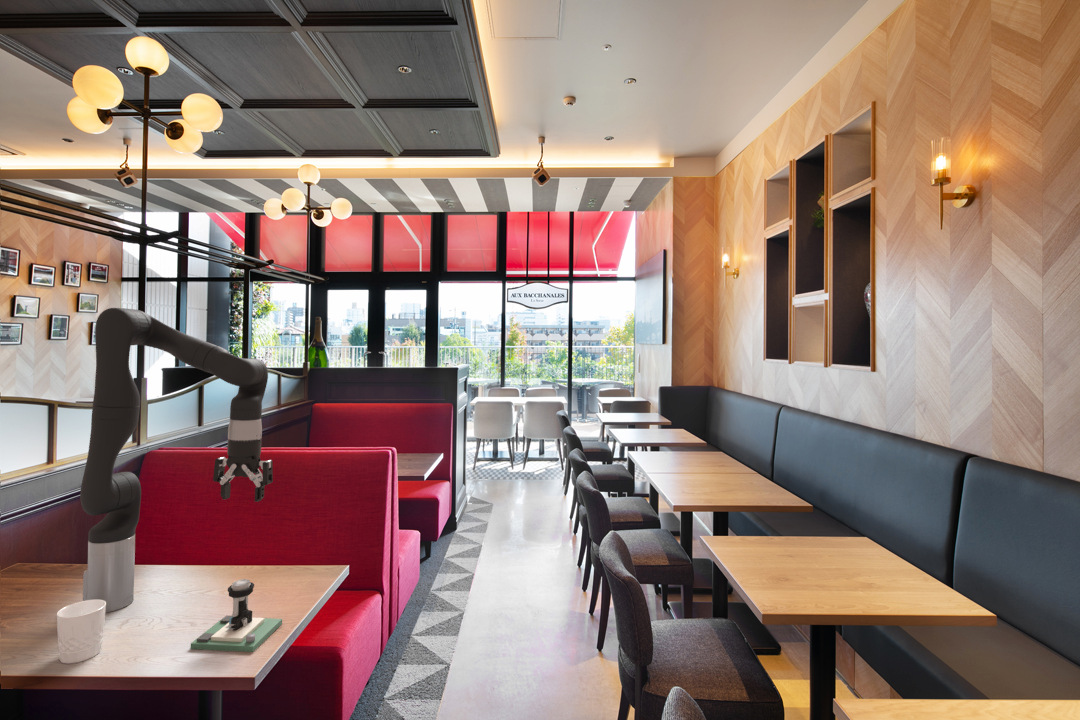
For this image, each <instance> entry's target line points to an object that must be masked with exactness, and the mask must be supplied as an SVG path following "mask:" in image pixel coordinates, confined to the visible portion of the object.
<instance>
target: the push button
mask: <svg viewBox="0 0 1080 720" xmlns="http://www.w3.org/2000/svg"><path fill="white" fill-rule="evenodd" d="M254 587H255V583H254V582H252V581H251V582H250V579H246V578H244V579H243V578H242V579H238V580H235V581H233V582H232V584H231V585H230V586H228V587H227V593H228V596H229V597H230V598H232V614H231V616H232V617H231V618H230V619H229V625H228V626H227V627H226V628H229V629H228V630H227V631H225V632H229V631H231V630H235V631H236V630H238V629H239V628H241V627H242V626H246V625H247V623H250V622H252V617H253V610H250V609H249V596H250V595H251V594H252V593H253V592H254Z"/></svg>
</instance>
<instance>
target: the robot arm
mask: <svg viewBox="0 0 1080 720" xmlns="http://www.w3.org/2000/svg"><path fill="white" fill-rule="evenodd" d="M94 328H95V329H94V332H95V333H94V338H95V339H94V340H95V343H94V344H95V378H94V394H93V400H92V407H91V408H92V410H91V418H90V419H91V422H90V423H91V424H90V435H89V436H90V437H89V445H88V452H87V459H86V462H85V467H84V472H83V477H82V482H81V485H80V491H79V492H80V493H79V498H80V504H81V508H82V510H83V511H84V513H86V514H87V515H89V516H99V515H104V514H105V516H104V517H103V518H102V519H101V520H100V521H99V522H98V523H96V524H94V525H93V526H92V527H91V528H90V529H89V531H88V536H87V537H88V539H87V569H85V570H84V571H83V576H82V577H83V578H82V579H83V580H82V601H86V600H104V601H105V602H106V611H105V613H109V612H113V611H117V610H121V609H123V608H125V607H127V606H128V605H130V604H132V603H133V601H134V595H135V592H134V591H135V590H134V589H135V564H136V563H135V557H136V555H135V553H136V528H137V526H138V524H139V521H140V512H141V511H140V510H141V502H142V501H141V500H142V487H141V482H140V480H139V477H138V476H137V475H136V474H135V473H133V472H131V471H121V472H116V473H114V469H115V464H116V461H117V458H118V456H119V453H120V452H121V451H122V449H123V448H124V446H125V445H126V443H127V442H128V440H129V439H130V438H131V437H132V435H133V433H134V432H135V430H136V428H137V426H138V425H139V424H138V423H139V419H140V417H139V416H140V408H141V395H140V392H139V390H138V387H137V385H136V383H135V380H134V378H133V376H132V373H131V370H130V354H131V353H130V351H131V346H145V347H148V348H149V347H150V348H153V349H158V350H161V351H164V352H165V353H168V354H170V355H171V356H173V357H175V358H176V359H177V360H178V361H180V362H182V363H184V364H186V365H188V366H190V367H193V368H195V369H197V370H201V371H203V372H205V373H209V374H212V375H213V376H215V377H216V378H218V379H220V380H222V381H224V382H225V383H227V384H230V385H232V386H237V387H238V390H237V391H238V392H237V394H236V395H235V396H234V397H232V399H231V400H230V411H229V423H228V426H227V427H228V429H227V447H226V448H227V450H226V451H227V452H226V453H227V456H228V457H227V458H226V457H225V456H221V457H218V458H215V460H214V464H213V465H214V469H213V475H212V476H213V477H212V480H213V482H214V483H218V484H220V497H221V499H222V500H228V499H230V497H231V483H230V482H231V481H232V480H233V479H234V478H239V477H243V478H249V480H250V481H252V482H253V484H254V485H255V488H254V502H255V503H259V502H260V501H262V500H263V499H264V497H265V487H266V486H267V485H269V484H272V483H273V482H274V480H273V478H274V476H273V475H274V473H273V470H274V468H273V466H274V465H273V460H272V459H269V460H261V453H262V437H263V436H262V435H263V424H262V414H263V413H262V412H263V411H262V408H263V405H262V404H263V399H264V395H265V392H266V389H267V385H268V379H269V372H268V367H267V365H266V363H265V362H263V360H262V359H261V360H260V359H258V358H254V357H253V358H244V357H240V356H236V355H234V354H232V353H231V352H230V351H229V350H227V349H225V348H223V347H222V346H218V345H216V344H213V343H211V342H208V341H205V340H202V339H200V338H198V337H194V336H192V335H189V334H187V333H184V332H182V331H179V330H177V329H176V328H173V327H172V326H169V325H167V324H166V323H164V322H162V321H161V320H159V319H157V318H156V317H153V316H152V315H150V314H148V313H146V312H144V311H142V310H139V309H133V308H121V307H110V308H106V309H104V310H103V311H102V312H101V313H100V314H99V315H98V317H97V319H96V322H95V327H94ZM226 466H227V467H228V470H227V471H226V472H225V469H226V468H225V467H226ZM260 469H261V470H262V471H261V470H260Z"/></svg>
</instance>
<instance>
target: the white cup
mask: <svg viewBox="0 0 1080 720" xmlns="http://www.w3.org/2000/svg"><path fill="white" fill-rule="evenodd" d="M105 611H106V602H105V601H104V600H86V601H83V600H82V601H78V602H77V601H76V602H75V603H70V604H69V605H66V606H64V607H62V608H61V609H59V610H58V611H57V612H56V626H57V627H56V629H57V630H56V631H57V647H58V659H59V660H58V661H60V662H61V663H62V664H75V663H76V664H77V663H81V662H84V661H87V660H90V659H91V658H94V657H95V656H97V655H98V654H99V653H100V652H101V650H102V647H103V638H104V633H105V632H104V631H105V623H106V612H105Z"/></svg>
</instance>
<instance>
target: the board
mask: <svg viewBox="0 0 1080 720" xmlns="http://www.w3.org/2000/svg"><path fill="white" fill-rule="evenodd" d="M231 617H232V615H226V616H225V615H224V617H222V618H221V619H219V620H218V622H216V623H214V624H213V625H212V626H211V627H209V629H207V630H206V631H204V632H203V633H202V634H201V635H200V636H198V637H197V638H196V639H194V640H193V641H191V642H190V650H202V651H203V650H206V651H225V652H244V653H247V652H248V653H249V652H250V653H253V652H255V651H256V650H257V649H258V648H259V647H260V646H261V645H262V644H263V643H264V642H265V641H267V639H268V638H269V637H270V636H272V634H273V633H275V631H276V630H278V628H279V627H281V626H282V624H283V618H274V617H273V618H271V617H270V618H269V617H253V616H252V622H250V623H247V625H246V626H242V627H241V628H239V629H238V630H236V631H235V630H231V631H229V632H225V631H227V630H228V629H229V628H226V627H227V626H228V625H229V619H230V618H231Z"/></svg>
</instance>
